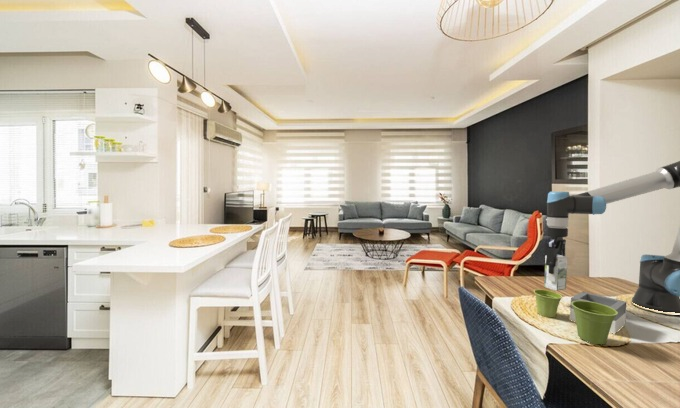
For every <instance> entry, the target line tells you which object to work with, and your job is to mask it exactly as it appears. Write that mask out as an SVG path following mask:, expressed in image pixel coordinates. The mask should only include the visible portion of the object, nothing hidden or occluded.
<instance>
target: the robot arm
mask: <svg viewBox="0 0 680 408" xmlns="http://www.w3.org/2000/svg"><path fill="white" fill-rule="evenodd" d="M676 188H680V160H678V161H676V162H673V163H669V164H667V165H664V166H661V167H657V168H656V170H655V171H652V172H649V173H646V174H642V175H639V176H637V177H632V178H629V179H626V180H623V181H619V182H615V183H612V184H610V185H609V184H608V185H605V186H602V187H598V188H595V189H592V190H588V191H586V192H582V193H578V194H572V195H570V192H569V191H549V192H548V193H547V201H546V218H545V221H546V229H545V230H546V234H545V235H547V236H548V237H550V240H549V241H547V242H546V255H547V257H546V265H548V280H549V281H554V282H556V266H555V264H556V258H557V255H562V256H565V257H566V241H567V240H566V239H564V238H567V237H568V234H569V229H568V227H569V215H571V214H572V215H573V214H577V215H579V214H580V215H602V214H604V213H605V212H606V211H607V205H608V204H610V203H611V204H612V203H615V202H619V201H623V200H626V199H630V198H633V197H637V196H641V195H644V194H648V193H652V192H655V191H659V190H663V189H666V190H671V189H673V190H674V189H676ZM550 262H551V263H550ZM638 277H639V278H638V288H637V289H636V291H635V293H634V295H633V296H632V298H631V303H632V302H633V303H635V304H637V305H639V306H642V307H645V308H649V309H654V310H658V311H663V312H675V313H680V225H679V226H678V230H677V234H676V236H675V240H674V244H673V247H672V251H671V253H669V254H667V255H659V254H641V257H640V261H639V276H638Z"/></svg>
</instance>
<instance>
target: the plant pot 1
mask: <svg viewBox="0 0 680 408" xmlns="http://www.w3.org/2000/svg"><path fill="white" fill-rule="evenodd" d="M533 293H534V296H535V301H536V312H538V313H537V314H539V315H540V316H542V315H543V316H542V317H545V316H546V317H545V318H556V317H555V316H557V311H558V309H559V308H558V307H559V304H560V302H561V299H563V295H561V294H560V293H558V292H555V291H554V290H549V289H548V290H547V289H534V290H533Z"/></svg>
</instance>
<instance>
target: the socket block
mask: <svg viewBox="0 0 680 408" xmlns="http://www.w3.org/2000/svg"><path fill="white" fill-rule="evenodd" d="M573 301H590V302H595V303H599V304H603V305H606V306H609V307H611V308H613V309H615V310H616V311H617V312H618V314H617V315H616V316H615V318H614V321H613V322H612V325H611V328H610V331H609V332H610V333H614V334H615V333H616V332H617V331H618V330H619V329H620V328H621V327H622V326H623V327H625V325H626V314H627V312H626V311H627V301H625V300H620V299H616V298H612V297H608V296H605V295H604V296H603V295H600V294H595V293H593V292H592V293H591V292H589V291H580V292H579V293H577V294H575V295H573V296H571V297H570V303H571V302H573ZM569 307H570V309H569V311H570V312H569V321H570V320H572V321H575V322H576V317H575V312H574V308H573V306H572V305H571V304H570V306H569ZM572 321H571V322H572ZM575 322H574V323H575ZM623 327H622V328H623ZM622 328H621V329H622ZM621 329H620V330H621ZM620 330H619V331H620ZM619 331H618V332H619ZM618 332H617V333H618ZM610 333H609V334H610ZM617 333H616V334H617ZM616 334H615V335H616Z"/></svg>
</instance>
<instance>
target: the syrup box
mask: <svg viewBox="0 0 680 408" xmlns="http://www.w3.org/2000/svg"><path fill="white" fill-rule="evenodd" d="M546 257H547V254H546V255H545V256H544V258H545V259H544V260H545V262H544V276H543V277H544V280H543V287H544V288H547V289H548V290H549V289H550V290H552V291H562V290H566V288H567V276H568V275H567V272H568V257H567V256H566V255H565V256H562V255H557V258H556V264H555V266H556V282H554V281H549V280H548V265H546ZM550 263H551V262H550Z"/></svg>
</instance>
